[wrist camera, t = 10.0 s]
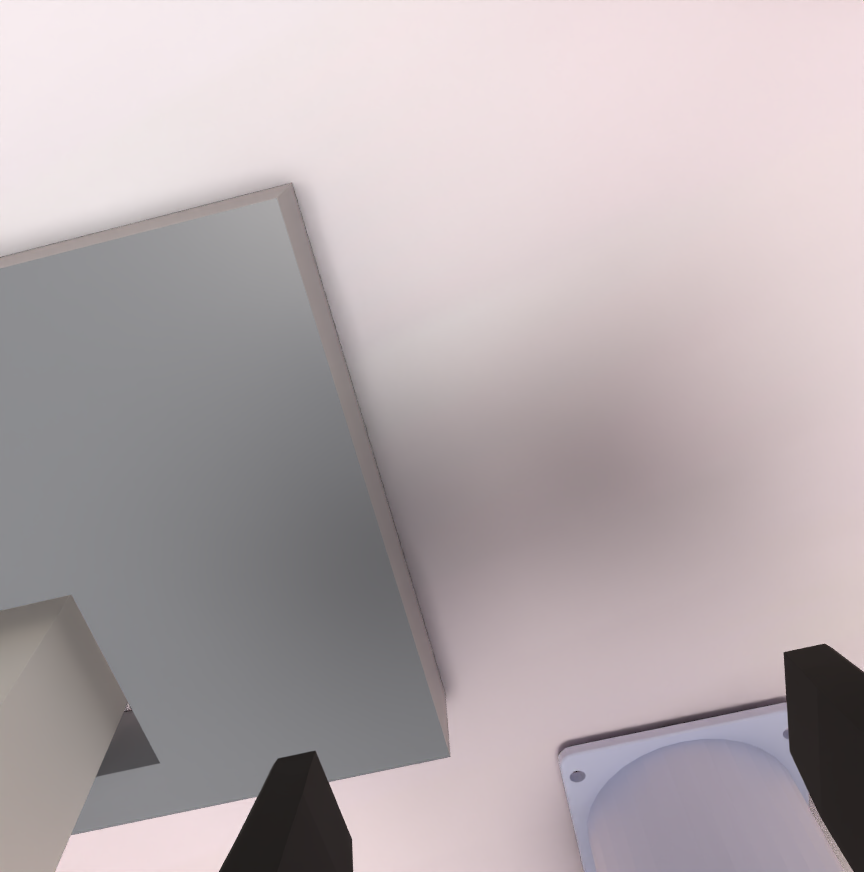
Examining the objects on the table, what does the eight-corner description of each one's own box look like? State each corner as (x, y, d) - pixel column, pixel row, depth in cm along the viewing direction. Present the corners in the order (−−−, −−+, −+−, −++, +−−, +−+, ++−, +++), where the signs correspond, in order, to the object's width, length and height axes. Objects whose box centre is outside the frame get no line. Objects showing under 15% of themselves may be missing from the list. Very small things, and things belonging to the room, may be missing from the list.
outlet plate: (445, 694, 25) (450, 756, 23) (-28, 794, 26) (-69, 864, 24) (291, 182, 18) (276, 197, 16) (-336, 343, 19) (-434, 378, 17)
